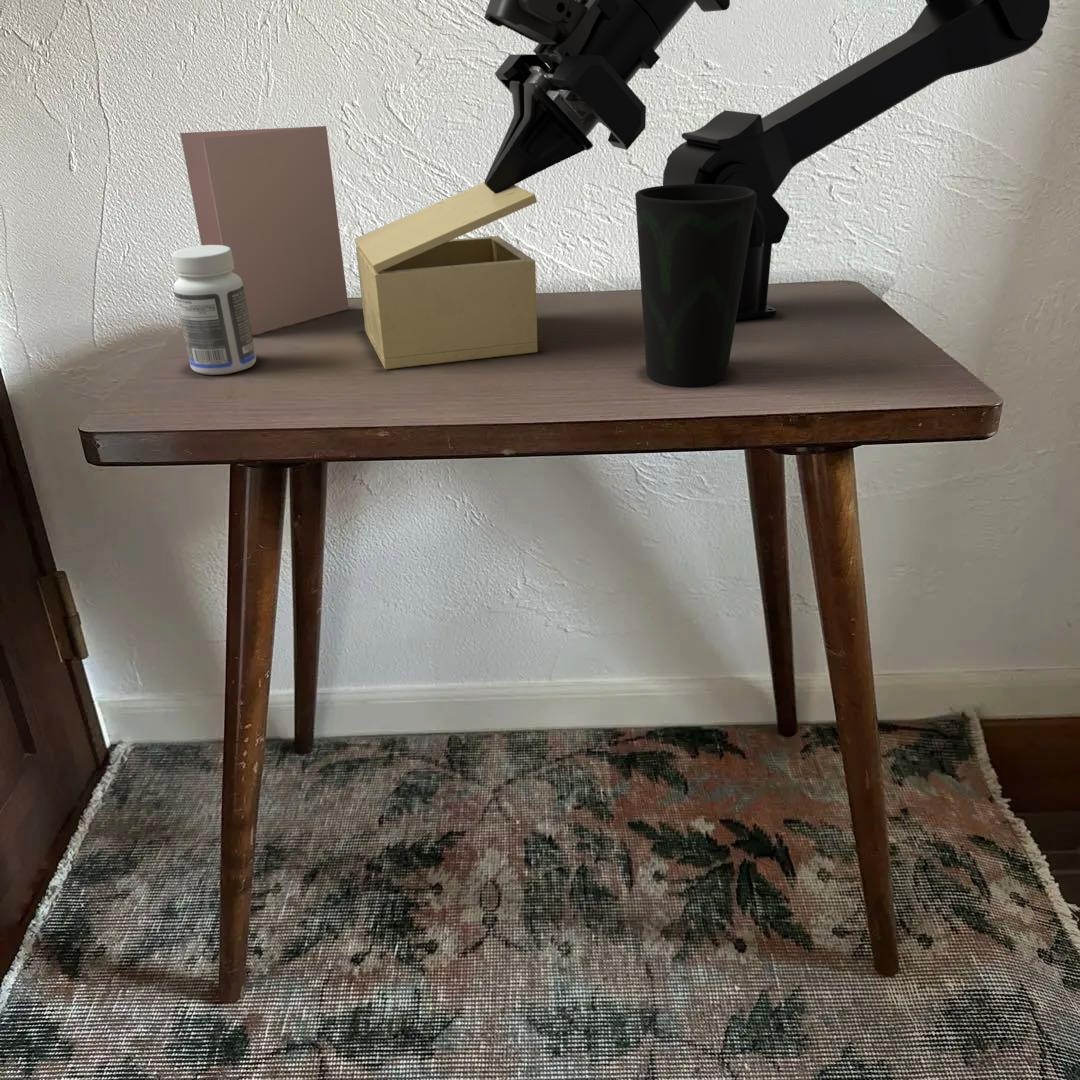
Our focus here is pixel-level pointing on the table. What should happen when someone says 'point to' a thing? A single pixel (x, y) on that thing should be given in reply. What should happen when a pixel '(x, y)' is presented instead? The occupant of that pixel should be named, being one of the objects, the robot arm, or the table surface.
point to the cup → (691, 277)
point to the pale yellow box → (451, 304)
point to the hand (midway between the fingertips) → (489, 188)
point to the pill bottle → (213, 310)
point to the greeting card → (271, 218)
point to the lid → (439, 224)
